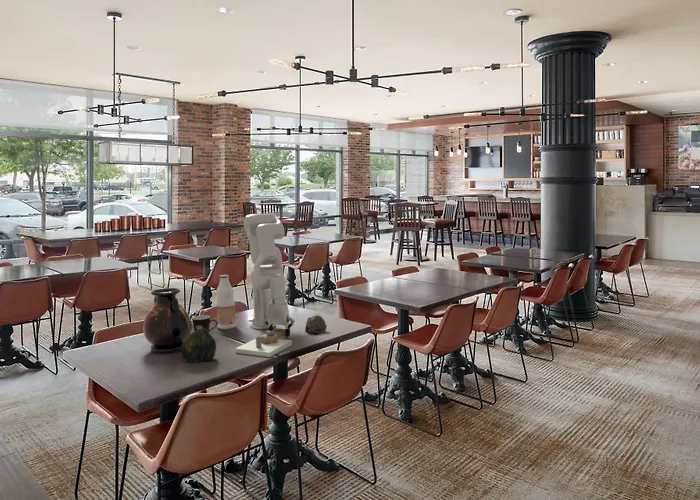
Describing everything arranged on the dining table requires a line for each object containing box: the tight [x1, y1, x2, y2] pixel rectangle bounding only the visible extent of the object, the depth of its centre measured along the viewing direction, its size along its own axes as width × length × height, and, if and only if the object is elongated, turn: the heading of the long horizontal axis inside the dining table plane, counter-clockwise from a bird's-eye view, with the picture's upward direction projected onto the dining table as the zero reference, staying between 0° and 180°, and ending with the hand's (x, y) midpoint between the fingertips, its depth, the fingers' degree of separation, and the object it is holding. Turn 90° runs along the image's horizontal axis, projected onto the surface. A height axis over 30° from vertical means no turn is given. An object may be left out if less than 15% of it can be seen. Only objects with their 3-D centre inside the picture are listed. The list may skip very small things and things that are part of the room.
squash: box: [180, 328, 217, 363], centre depth 245 cm, size 14×15×15 cm
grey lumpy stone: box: [304, 315, 327, 335], centre depth 287 cm, size 11×9×10 cm
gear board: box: [235, 330, 293, 358], centre depth 260 cm, size 18×20×7 cm
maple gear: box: [272, 328, 288, 340], centre depth 276 cm, size 7×7×4 cm
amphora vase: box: [142, 287, 193, 354], centre depth 261 cm, size 22×22×28 cm
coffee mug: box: [191, 314, 218, 333], centre depth 281 cm, size 12×9×10 cm
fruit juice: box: [215, 274, 236, 330], centre depth 298 cm, size 9×9×28 cm
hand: (279, 335), depth 276 cm, fingers open, 8 cm apart
